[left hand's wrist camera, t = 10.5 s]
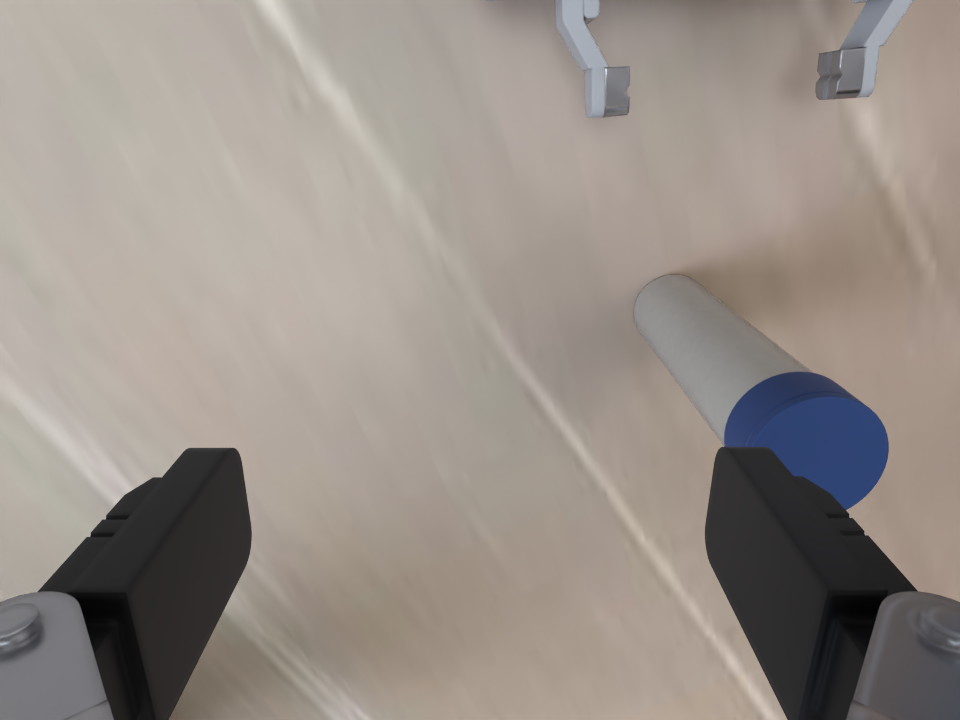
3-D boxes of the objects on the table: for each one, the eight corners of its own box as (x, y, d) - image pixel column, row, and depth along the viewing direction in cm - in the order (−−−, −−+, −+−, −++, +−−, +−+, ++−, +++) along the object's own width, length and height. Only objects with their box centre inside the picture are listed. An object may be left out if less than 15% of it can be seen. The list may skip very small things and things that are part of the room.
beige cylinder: (621, 330, 37) (724, 485, 21) (653, 263, 35) (788, 377, 20) (686, 355, 37) (831, 523, 22) (720, 289, 36) (900, 421, 21)
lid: (700, 463, 23) (721, 495, 21) (763, 352, 22) (792, 376, 20) (809, 502, 24) (840, 537, 22) (878, 397, 22) (917, 424, 20)
